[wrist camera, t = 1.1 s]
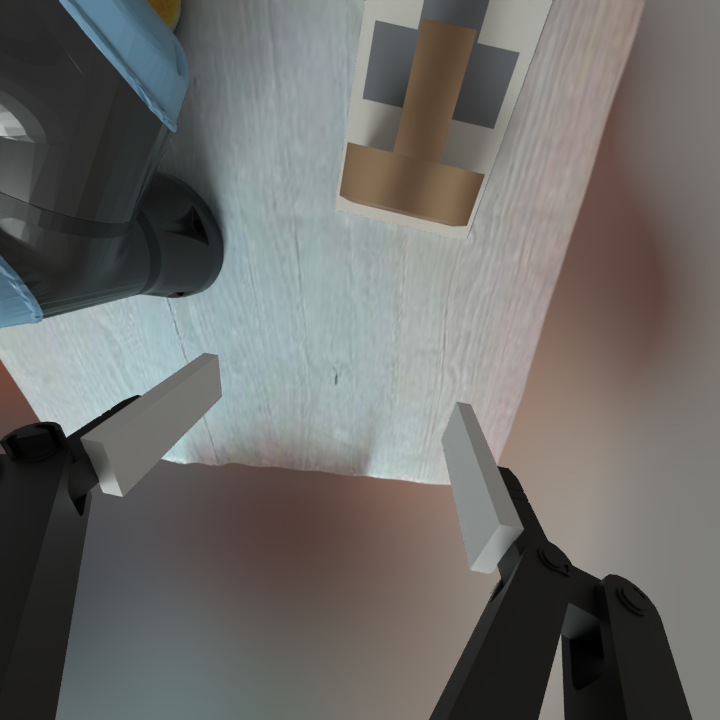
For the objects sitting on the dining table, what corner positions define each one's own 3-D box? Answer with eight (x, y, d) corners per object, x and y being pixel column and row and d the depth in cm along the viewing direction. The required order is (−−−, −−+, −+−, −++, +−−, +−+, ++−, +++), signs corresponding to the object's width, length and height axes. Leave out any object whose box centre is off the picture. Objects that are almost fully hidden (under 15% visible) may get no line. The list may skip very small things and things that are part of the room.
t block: (352, 202, 32) (339, 195, 25) (376, 62, 26) (368, 5, 20) (452, 226, 31) (466, 226, 25) (497, 90, 26) (532, 42, 19)
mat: (334, 209, 33) (334, 209, 32) (385, -123, 22) (385, -130, 21) (464, 240, 32) (465, 241, 32) (580, -82, 22) (584, -88, 21)
